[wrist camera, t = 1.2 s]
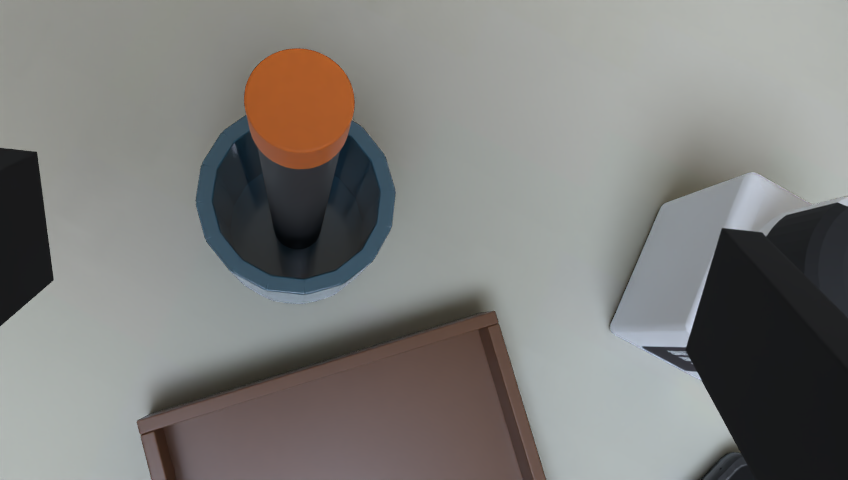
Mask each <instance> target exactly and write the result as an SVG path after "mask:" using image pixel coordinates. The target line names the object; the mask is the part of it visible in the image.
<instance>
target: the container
mask: <svg viewBox="0 0 848 480" xmlns="http://www.w3.org/2000/svg"><path fill="white" fill-rule="evenodd" d="M722 228H728V229H737V230H746V231H755V232H762V233H763V234H764V235H765V236H766V237H767V238H768V239H769V240H770V241H771V242H772V243H773V244H774V245H775V246H776V247H777V248H778V249H779V250H780V251H781V252H782V253H783V254H784V255H785V256H786V257H787V258H788V259H789V260H790V261H791V262H792V263H793V264H794V265H795V266H796V267H797V268H798V269H799V270H800V271H801V272H802V273H803V274H804V275H805V276H806V277H807V278H808V279H809V280H810V281H811V282H812V283H813V284H814V285H815V286H816V287H817V288H818V289H819V290H820V291H821V292H822V293H823V294H824V295H825V296H826V297H827V298H828V299H829V300H830V301H831V302H832V303H833V304H834V305H835V306H836V307H837V308H838V309H839V310H840V311H841V312H842V313H844V314H845V315H846V316H847V317H848V196H844V197H840V198H836V199H833V200H829V201H825V202H821V203H817V204H811V203H809V202H807V201H806V200H804V199H802V198H800V197H799V196H797V195H795V194H793V193H791V192H790V191H788V190H786V189H784V188H783V187H781V186H779V185H777V184H776V183H774V182H772V181H770V180H769V179H767V178H765V177H763V176H761V175H760V174H758V173H755V172H750V173H746V174H744V175H741V176H738V177H735V178H733V179H730V180H727V181H724V182H722V183H719V184H716V185H713V186H711V187H708V188H705V189H702V190H700V191H697V192H694V193H691V194H689V195H686V196H683V197H680V198H678V199H675V200H672V201H669V202H667V203H664V204H663V205H662V206H661V208H660V210H659V213H658V215H657V217H656V220H655V222H654V224H653V227H652V229H651V231H650V234H649V236H648V238H647V241H646V243H645V245H644V248H643V250H642V252H641V255H640V257H639V259H638V262H637V264H636V266H635V269H634V271H633V273H632V276H631V278H630V280H629V283H628V285H627V287H626V290H625V292H624V295H623V297H622V299H621V302H620V304H619V306H618V309H617V311H616V313H615V316H614V318H613V320H612V323H611V325H610V330H611V332H612V333H613V334H614V335H616V336H618V337H619V338H621V339H623V340H625V341H627V342H629V343H631V344H633V345H635V346H637V347H638V348H640V349H642V350H644V351H646V352H648V353H650V354H652V355H654V356H656V357H657V358H659V359H661V360H663V361H665V362H667V363H669V364H671V365H673V366H674V367H676V368H678V369H680V370H682V371H684V372H686V373H688V374H690V375H692V376H693V377H695V378H697V379H699V380H701V378H700V376H699V374H698V373H697V371H696V369H695V367H694V365H693V363H692V362H691V360H690V358H689V356H688V354H687V352H686V350H685V349H686V346H687V342H688V339H689V336H690V332H691V329H692V326H693V322H694V319H695V316H696V312H697V309H698V306H699V302H700V299H701V296H702V292H703V289H704V286H705V282H706V279H707V276H708V272H709V269H710V266H711V262H712V259H713V256H714V252H715V249H716V246H717V242H718V239H719V236H720V232H721V229H722ZM701 381H702V380H701Z"/></svg>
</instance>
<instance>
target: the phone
mask: <svg viewBox="0 0 848 480" xmlns="http://www.w3.org/2000/svg"><path fill="white" fill-rule="evenodd" d="M701 480H755V478H754V476H753V474H752V472H751V471H750V469H749V467H748V465H747V463H746V461H745V460H744V458H743V456H742V454H741V453H734V452H732V453H729V454H726V455H725V456H723V457H722V458H721V459H720V460H719V461H718V462H717V463H716V464H715V465H714V466H713V467H712V468H711V469H710V470H709V471H708V473H707V474H706V475H705V476H704V477H703V478H702V479H701Z"/></svg>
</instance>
